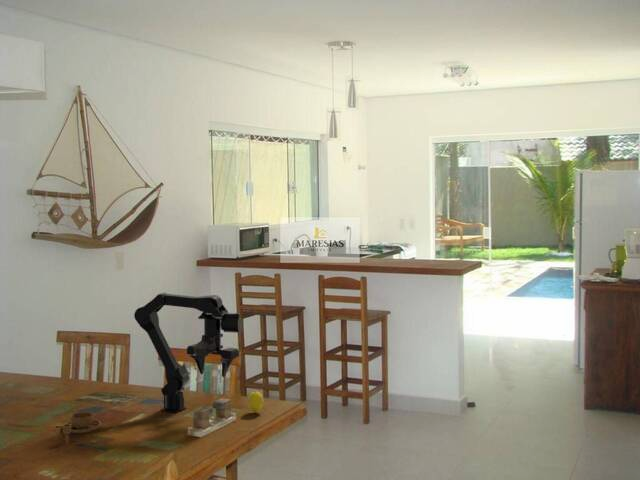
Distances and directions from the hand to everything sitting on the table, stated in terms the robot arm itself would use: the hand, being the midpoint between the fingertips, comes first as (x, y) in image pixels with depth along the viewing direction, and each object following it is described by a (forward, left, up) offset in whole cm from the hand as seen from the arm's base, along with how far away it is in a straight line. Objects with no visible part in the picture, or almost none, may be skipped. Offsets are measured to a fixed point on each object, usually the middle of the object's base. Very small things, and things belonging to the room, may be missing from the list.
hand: (212, 375), depth 268 cm
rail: (+10, -15, -13) cm, 22 cm away
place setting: (-28, -39, -14) cm, 50 cm away
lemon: (+14, +6, -13) cm, 20 cm away
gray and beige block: (+10, -8, -12) cm, 17 cm away
